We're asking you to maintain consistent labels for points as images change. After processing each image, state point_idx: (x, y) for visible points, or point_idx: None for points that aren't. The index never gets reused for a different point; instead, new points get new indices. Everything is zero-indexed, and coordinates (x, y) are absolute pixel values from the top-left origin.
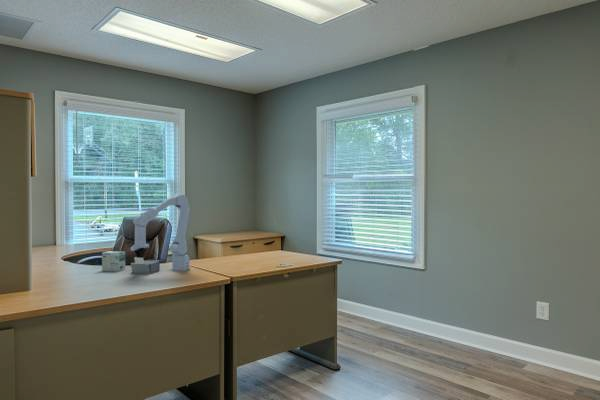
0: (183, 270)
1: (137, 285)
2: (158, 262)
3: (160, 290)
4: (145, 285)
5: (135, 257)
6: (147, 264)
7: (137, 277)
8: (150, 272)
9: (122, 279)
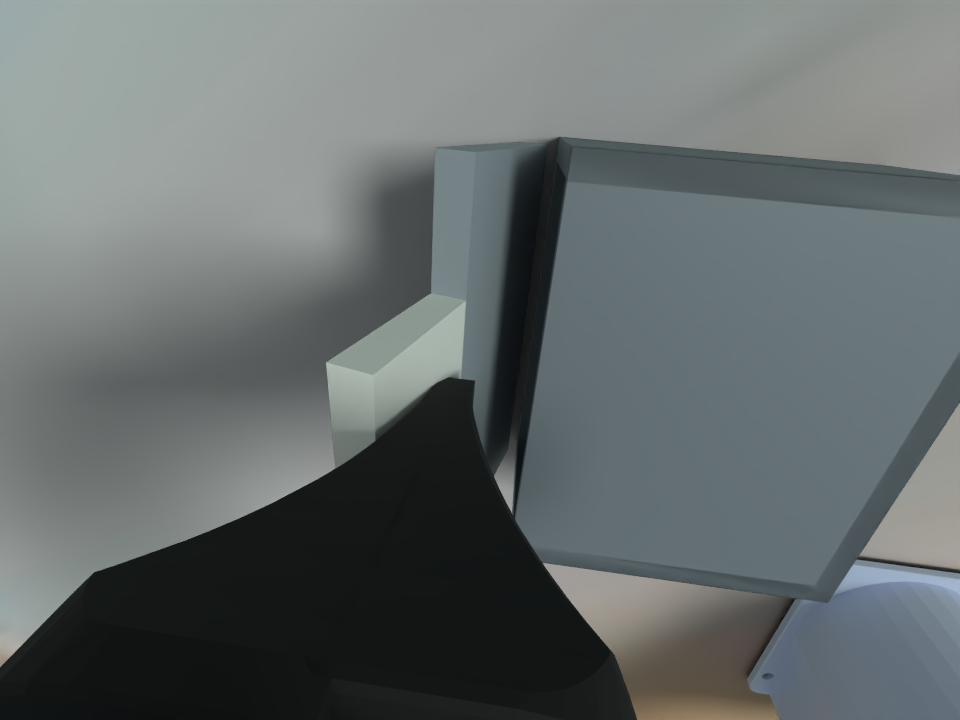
0: (750, 687)
1: (3, 518)
2: (777, 589)
3: None
4: (48, 568)
5: (351, 396)
6: None
7: (280, 373)
8: (516, 455)
9: (85, 247)
